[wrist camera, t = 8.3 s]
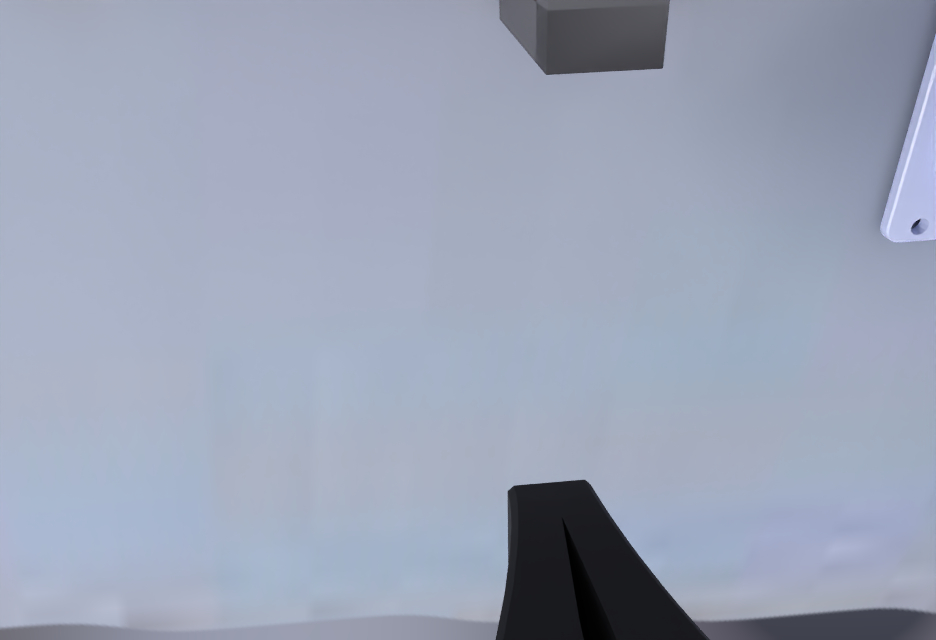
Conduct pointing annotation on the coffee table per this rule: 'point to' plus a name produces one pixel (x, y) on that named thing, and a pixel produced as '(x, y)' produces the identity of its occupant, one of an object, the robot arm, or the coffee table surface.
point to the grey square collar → (589, 33)
